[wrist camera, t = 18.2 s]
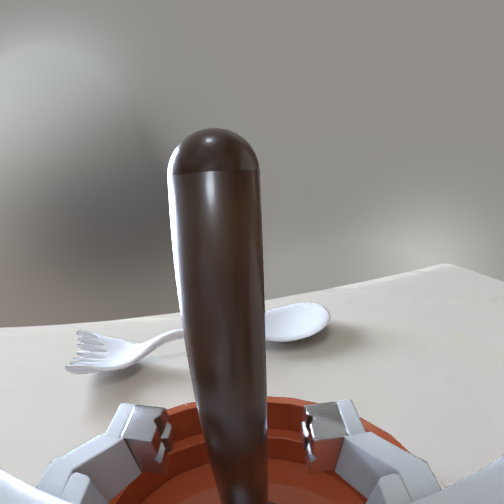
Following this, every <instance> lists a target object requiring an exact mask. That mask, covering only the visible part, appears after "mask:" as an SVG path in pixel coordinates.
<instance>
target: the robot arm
mask: <svg viewBox="0 0 504 504" xmlns="http://www.w3.org/2000/svg"><path fill="white" fill-rule="evenodd" d="M168 417H169V415H168V412H167V409H165V408H161V407H151V406H143V405H133V404H127V403H122V404H121V405H120V406H119V408H118V410H117V412H116V414H115V416H114V418H113V420H112V422H111V424H110V426H109V428H108V430H107V432H106V434H105V435H104V434H100V435H99V436H97V437H95V438H93V439H92V440H90V441H88V442H86V443H85V444H83V445H81V446H79V447H77V448H76V449H74V450H72V451H70V452H68V453H66V454H65V455H63V456H61V457H59V458H57V459H55V460H53V461H51V462H50V464H49V465H48V467H47V469H46V471H45V472H44V474H43V476H42V478H41V479H40V481H39V483H38V485H37V487H36V488H35V487H33V486H31V485H29V484H27V483H25V482H23V481H21V480H19V479H17V478H15V477H14V476H12V475H10V474H8V473H6V472H5V471H3V470H1V469H0V504H110V503H109V501H110V500H111V499H112V498H114V497H115V496H116V495H117V494H118V493H119V492H121V491H122V490H123V489H124V488H125V487H126V486H128V485H129V484H130V483H131V482H132V481H133V480H134V479H135V478H137V477H138V476H139V475H140V474H141V473H142V472H149V473H157V474H166V473H167V469H168V465H169V461H170V459H169V457H168V453H169V452H170V451H171V450H172V448H173V443H174V434H173V428H172V425H171V424H170V423H168V422H167V420H168ZM303 418H304V421H303V422H302V428H301V436H302V444H303V449H305V450H306V457H305V459H306V464H307V469H308V474H310V473H318V472H326V471H333V470H335V472H336V473H337V474H338V475H340V476H341V477H342V478H343V479H344V480H345V481H347V482H348V483H349V484H350V485H351V486H352V487H354V488H355V489H356V490H357V491H358V492H360V493H361V494H362V495H363V496H365V497H366V498H367V499H368V500H367V502H366V504H504V456H502V457H501V458H499V459H498V460H496V461H495V462H493V463H491V464H490V465H488V466H486V467H485V468H483V469H481V470H480V471H478V472H476V473H474V474H472V475H471V476H469V477H467V478H465V479H463V480H461V481H459V482H457V483H455V484H453V485H451V486H449V487H447V488H445V489H443V490H442V489H441V488H440V486H439V484H438V482H437V480H436V478H435V476H434V475H433V473H432V471H431V469H430V467H429V466H428V464H427V462H426V461H424V460H422V459H420V458H418V457H416V456H414V455H412V454H411V453H409V452H407V451H405V450H403V449H401V448H399V447H397V446H396V445H394V444H392V443H390V442H388V441H386V440H385V439H383V438H381V437H379V436H378V435H376V434H374V433H372V432H366V431H365V429H364V426H363V424H362V422H361V420H360V418H359V415H358V413H357V411H356V409H355V407H354V404H353V402H352V400H350V399H346V400H340V401H335V402H327V403H320V404H313V405H304V407H303Z"/></svg>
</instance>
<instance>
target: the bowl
mask: <svg viewBox="0 0 504 504" xmlns="http://www.w3.org/2000/svg"><path fill="white" fill-rule="evenodd" d="M313 404H319V403H314V402H309V401H304V400H299V399H295V398H285V397H269V396H267V440H268V501H270V502H273V503H276V504H366V502H367V500H368V499H367V498H366V497H365V496H363V495H362V494H361V493H360V492H358V491H357V490H356V489H355V488H354V487H352V486H351V485H350V484H349V483H348V482H347V481H345V480H344V479H343V478H342V477H341V476H340V475H338V474H337V473H336V472H335V470H333V471H326V472H318V473H310V474H308V469H307V464H306V459H305V457H306V450H305V449H303V444H302V436H301V428H302V422H303V421H304V418H303V407H304V405H313ZM167 412H168V415H169V417H168V420H167V422H168V423H170V424H171V425H172V428H173V434H174V443H173V448H172V450H171V451H170V452H169V453H168V457H169V459H170V461H169V465H168V469H167V473H166V474H157V473H149V472H142V473H141V474H140V475H139V476H138V477H137V478H135V479H134V480H133V481H132V482H131V483H130V484H129V485H128V486H126V487H125V488H124V489H123V490H122V491H121V492H119V493H118V494H117V495H116V496H115V497H114V498H112V499H111V500H110V501H109V503H110V504H222V503H221V500H220V496H219V493H218V490H217V486H216V483H215V479H214V475H213V472H212V468H211V464H210V460H209V456H208V452H207V448H206V444H205V440H204V436H203V432H202V427H201V423H200V418H199V414H198V409H197V404H196V402H192V403H186V404H183V405H180V406H177V407H174V408H171V409H168V410H167ZM359 418H360V420H361V422H362V424H363V426H364V429H365V431H366V432H372V433H374V434H376V435H378V436H379V437H381V438H383V439H385V440H386V441H388V442H390V443H392V444H394V445H396V446H397V447H399V448H401V449H403V450H405V451H407V450H406V449H405V448H404V447H403V446H402V445H401V444H400V443H399V442H398V441H397V440H396V439H395V438H394V437H392V436H391V435H389V433H387V432H385V431H383V430H381V429H380V428H378V427H376V426H374V425H373V424H371V423H369V422H368V421H366V420H364V419H363V418H361V417H359ZM407 452H409V451H407ZM409 453H410V452H409Z"/></svg>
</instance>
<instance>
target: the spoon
mask: <svg viewBox="0 0 504 504" xmlns="http://www.w3.org/2000/svg"><path fill="white" fill-rule="evenodd" d="M330 319H331V316H330V313H329V311H328V310H327V309H326V308H325V307H323V306H321V305H319V304H314V303H298V304H292V305H286V306H282V307H278V308H274V309H271V310H268V311H265V341H270V342H290V341H296V340H301V339H304V338H307V337H310V336H312V335H314V334H316V333H318V332H319V331H321V330H322V329H323V328H324V327H326V326H327V324H328V323H329V322H330ZM76 334H77V335H78V336H79V337H82V338H78V339H77V340H78V341H79V342H81V343H83V344H77V346H78V347H79V348H81V349H83V350H87V351H90V352H87V351H78V352H77V354H78V355H79V356H81V357H83V358H73V360H74V361H75V362H70V365H67V366H65V369H66V371H67V372H69V373H74V374H88V373H96V372H108V371H116V370H121V369H124V368H127V367H130V366H132V365H134V364H135V363H137V362H138V361H140V360H141V359H143V358H144V357H145V356H147V355H148V354H149V353H151V352H152V351H153V350H155V349H156V348H158V347H160V346H161V345H163V344H165V343H167V342H170V341H173V340H176V339H182V338H184V333H183V328H182V329H177V330H172V331H169V332H166V333H164V334H161V335H159V336H157V337H155V338H153V339H151V340H150V341H147V342H145V343H142V344H136V343H131V342H128V341H125V340H122V339H117V338H110V337H105V336H102V335H99V334H96V333H92V332H89V331H85V330H78V331H77V332H76Z"/></svg>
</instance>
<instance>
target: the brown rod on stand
mask: <svg viewBox="0 0 504 504" xmlns="http://www.w3.org/2000/svg"><path fill="white" fill-rule="evenodd" d="M167 176H168V177H167V178H168V196H169V210H170V223H171V235H172V246H173V256H174V265H175V274H176V282H177V289H178V298H179V306H180V313H181V320H182V327H183V333H184V339H185V346H186V352H187V357H188V363H189V369H190V374H191V379H192V385H193V390H194V395H195V400H196V404H197V409H198V414H199V418H200V423H201V427H202V432H203V436H204V440H205V444H206V448H207V452H208V456H209V460H210V464H211V468H212V472H213V475H214V479H215V483H216V486H217V490H218V493H219V496H220V500H221V503H222V504H276V503H273V502H270V501H268V440H267V384H266V341H265V304H264V272H263V241H262V215H261V214H262V213H261V189H260V170H259V163H258V159H257V157H256V154H255V152H254V150H253V149H252V147H251V145H250V144H249V143H248V142H247V141H246V140H245V139H244V138H242V137H241V136H239V135H238V134H236V133H234V132H232V131H229V130H226V129H220V128H208V129H203V130H200V131H197V132H195V133H193V134H191V135H189V136H187V137H186V138H185V139H184V140H183V141H182V142H181V143H180V144H179V145H178V146H177V148H176V149H175V150H174V152H173V154H172V156H171V158H170V161H169V165H168V175H167Z"/></svg>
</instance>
